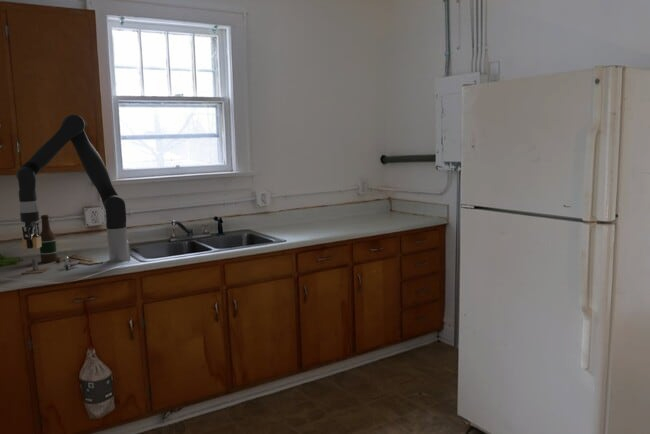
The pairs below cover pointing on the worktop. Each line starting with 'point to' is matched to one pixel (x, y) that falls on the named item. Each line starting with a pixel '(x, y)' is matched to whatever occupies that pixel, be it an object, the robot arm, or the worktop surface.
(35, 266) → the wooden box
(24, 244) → the brown slotted box
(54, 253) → the beer bottle
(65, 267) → the charcoal stand
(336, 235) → the worktop surface
